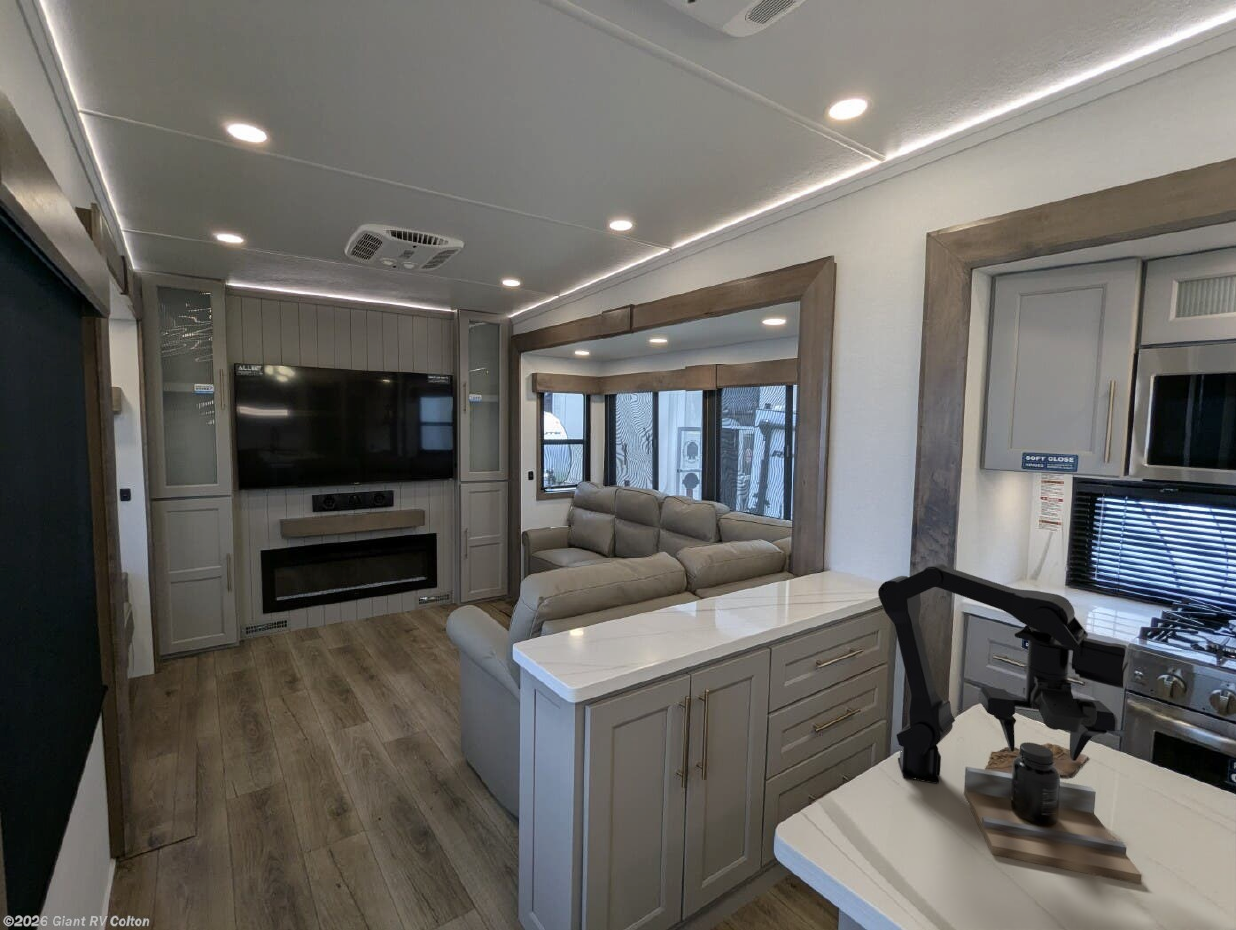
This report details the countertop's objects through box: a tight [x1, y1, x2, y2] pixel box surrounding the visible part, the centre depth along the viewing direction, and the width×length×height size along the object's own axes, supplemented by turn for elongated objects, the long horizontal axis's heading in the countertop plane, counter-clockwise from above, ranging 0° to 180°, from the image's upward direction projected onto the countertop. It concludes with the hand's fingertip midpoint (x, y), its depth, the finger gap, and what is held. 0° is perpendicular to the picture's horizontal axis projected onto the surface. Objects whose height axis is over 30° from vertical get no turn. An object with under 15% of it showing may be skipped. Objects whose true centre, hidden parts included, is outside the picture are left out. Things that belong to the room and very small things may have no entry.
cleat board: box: [963, 766, 1142, 885], centre depth 98 cm, size 20×16×6 cm
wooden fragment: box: [984, 742, 1089, 777], centre depth 119 cm, size 26×11×1 cm, turn 100°
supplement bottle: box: [1011, 742, 1061, 826], centre depth 101 cm, size 7×7×12 cm
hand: (1041, 754), depth 100 cm, fingers open, 9 cm apart
